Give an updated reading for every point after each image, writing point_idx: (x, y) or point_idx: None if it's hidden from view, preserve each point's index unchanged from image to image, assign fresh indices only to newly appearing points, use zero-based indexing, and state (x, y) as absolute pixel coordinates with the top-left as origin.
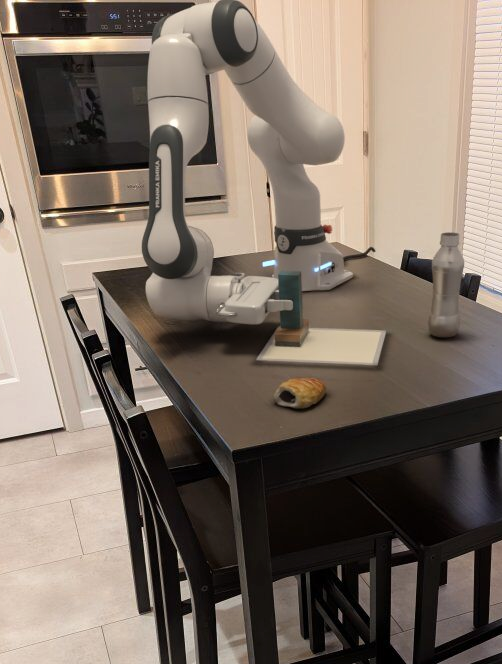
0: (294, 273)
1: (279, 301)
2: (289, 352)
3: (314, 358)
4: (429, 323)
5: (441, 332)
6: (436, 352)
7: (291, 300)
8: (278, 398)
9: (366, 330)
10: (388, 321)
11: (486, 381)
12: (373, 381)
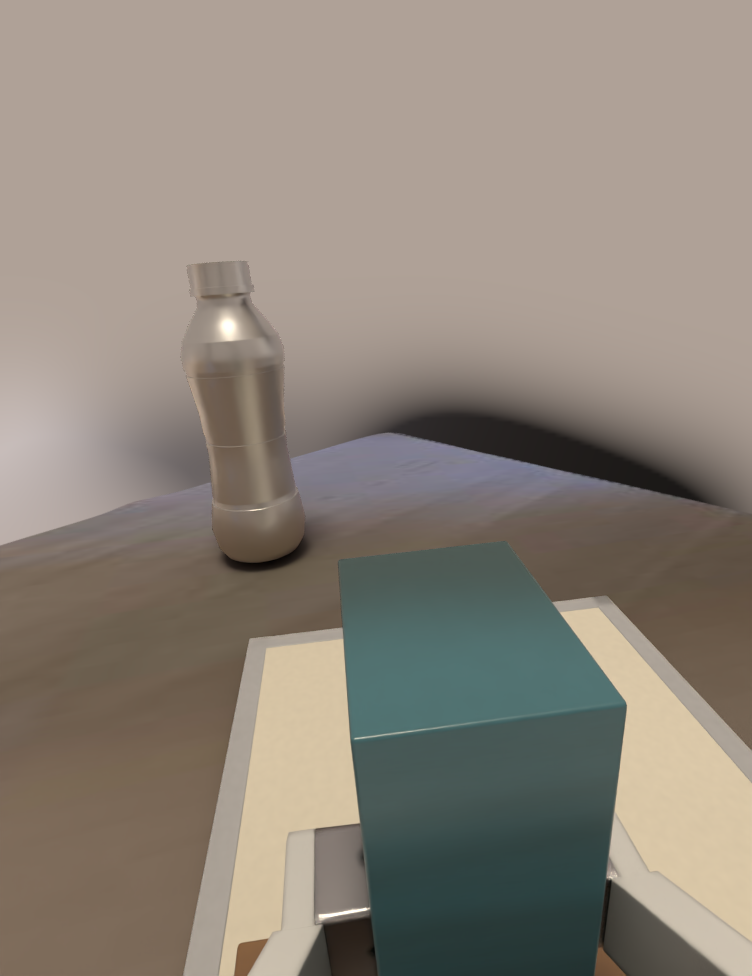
0: (458, 573)
1: (703, 911)
2: None
3: (722, 787)
4: (275, 531)
5: (304, 528)
6: (398, 545)
7: None
8: None
9: (248, 690)
10: (81, 676)
11: (534, 483)
12: (704, 597)
